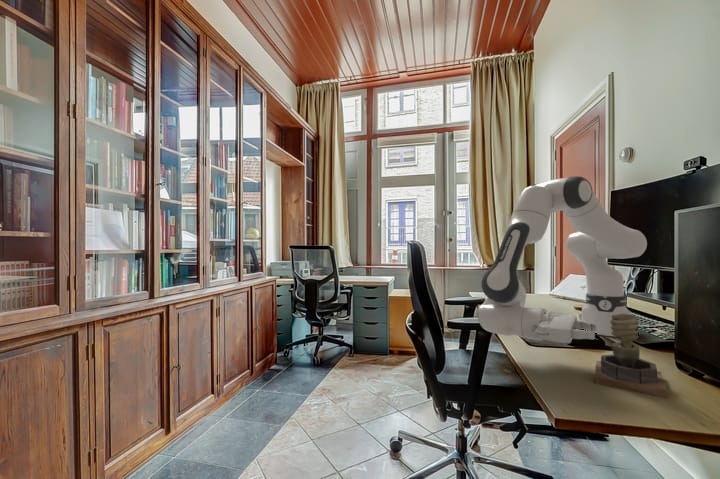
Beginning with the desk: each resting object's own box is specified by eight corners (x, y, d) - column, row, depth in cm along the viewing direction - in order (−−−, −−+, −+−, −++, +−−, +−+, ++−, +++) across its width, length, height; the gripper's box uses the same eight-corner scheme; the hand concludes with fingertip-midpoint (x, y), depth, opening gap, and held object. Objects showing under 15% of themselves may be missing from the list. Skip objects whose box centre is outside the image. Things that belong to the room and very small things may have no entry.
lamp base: (596, 366, 88) (596, 350, 88) (660, 377, 80) (660, 359, 80) (594, 382, 78) (593, 364, 78) (667, 397, 70) (666, 377, 70)
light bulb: (648, 379, 75) (643, 316, 76) (621, 378, 77) (617, 316, 77) (633, 370, 81) (629, 311, 82) (608, 369, 82) (604, 311, 83)
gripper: (528, 320, 84) (593, 327, 75) (541, 307, 100) (596, 312, 91) (529, 344, 83) (594, 354, 75) (542, 327, 99) (597, 334, 91)
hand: (595, 331), depth 83 cm, fingers open, 8 cm apart
